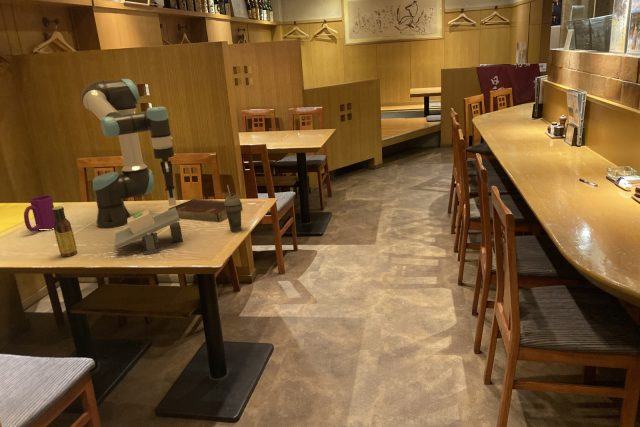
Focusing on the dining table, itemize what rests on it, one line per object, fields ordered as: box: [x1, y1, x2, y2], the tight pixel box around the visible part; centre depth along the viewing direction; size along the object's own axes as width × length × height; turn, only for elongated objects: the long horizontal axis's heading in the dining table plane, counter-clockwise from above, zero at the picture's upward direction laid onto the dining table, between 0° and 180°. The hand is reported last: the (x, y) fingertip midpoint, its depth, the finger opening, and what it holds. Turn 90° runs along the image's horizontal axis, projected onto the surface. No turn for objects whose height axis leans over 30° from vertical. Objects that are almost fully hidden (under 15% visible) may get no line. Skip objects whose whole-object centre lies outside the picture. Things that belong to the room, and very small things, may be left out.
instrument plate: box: [114, 206, 181, 250], centre depth 205 cm, size 26×16×8 cm, turn 109°
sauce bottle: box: [52, 205, 78, 257], centre depth 201 cm, size 7×6×20 cm
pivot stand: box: [141, 221, 184, 256], centre depth 209 cm, size 16×22×7 cm
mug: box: [23, 195, 55, 232], centre depth 236 cm, size 9×16×15 cm, turn 163°
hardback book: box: [167, 198, 243, 223], centre depth 244 cm, size 29×19×5 cm, turn 64°
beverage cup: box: [223, 184, 242, 233], centre depth 215 cm, size 7×7×20 cm
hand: (172, 204), depth 207 cm, fingers closed
